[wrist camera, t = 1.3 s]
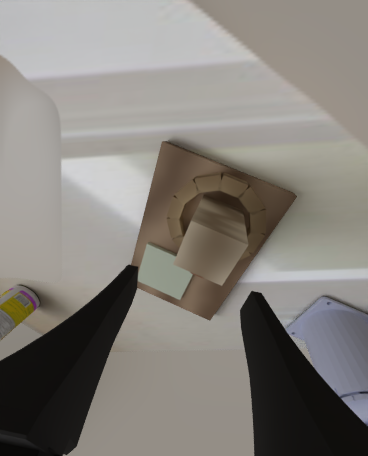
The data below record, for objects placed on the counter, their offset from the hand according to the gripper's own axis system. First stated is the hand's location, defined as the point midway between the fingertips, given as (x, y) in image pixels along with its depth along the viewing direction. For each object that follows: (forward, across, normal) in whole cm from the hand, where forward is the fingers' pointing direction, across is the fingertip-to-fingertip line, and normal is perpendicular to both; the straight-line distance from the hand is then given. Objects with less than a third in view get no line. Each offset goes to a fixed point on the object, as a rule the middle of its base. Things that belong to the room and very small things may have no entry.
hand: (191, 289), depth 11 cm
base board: (+11, 0, +5) cm, 12 cm away
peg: (+10, -2, 0) cm, 10 cm away
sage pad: (+10, +2, +10) cm, 14 cm away
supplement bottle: (+14, +31, +30) cm, 45 cm away
